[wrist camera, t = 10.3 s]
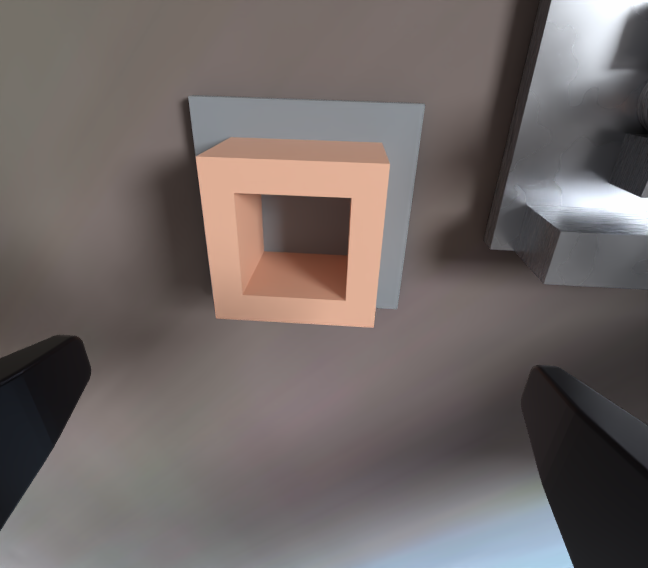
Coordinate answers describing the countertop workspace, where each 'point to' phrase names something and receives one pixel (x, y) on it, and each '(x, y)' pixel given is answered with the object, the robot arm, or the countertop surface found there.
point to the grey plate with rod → (579, 148)
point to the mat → (323, 212)
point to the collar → (282, 267)
